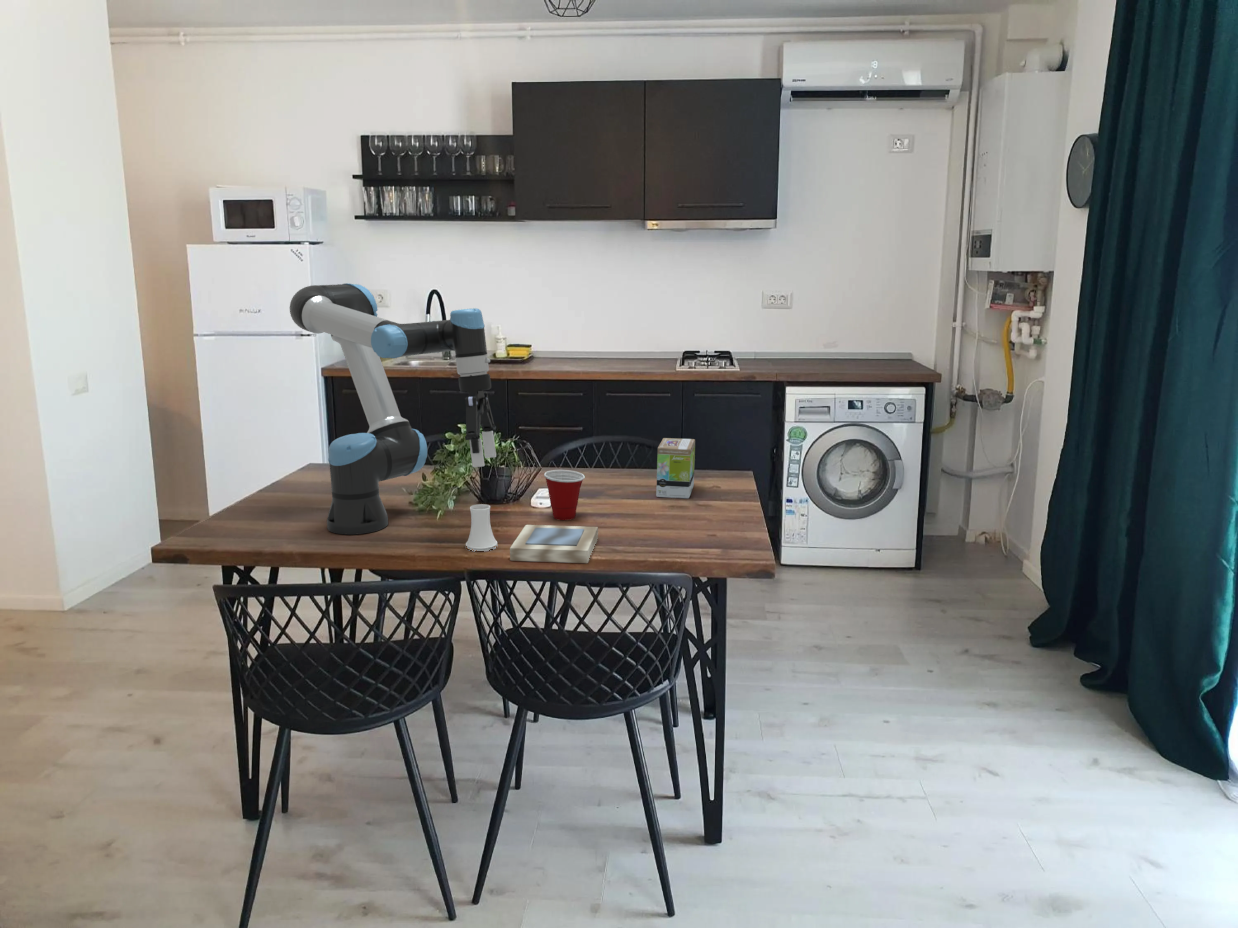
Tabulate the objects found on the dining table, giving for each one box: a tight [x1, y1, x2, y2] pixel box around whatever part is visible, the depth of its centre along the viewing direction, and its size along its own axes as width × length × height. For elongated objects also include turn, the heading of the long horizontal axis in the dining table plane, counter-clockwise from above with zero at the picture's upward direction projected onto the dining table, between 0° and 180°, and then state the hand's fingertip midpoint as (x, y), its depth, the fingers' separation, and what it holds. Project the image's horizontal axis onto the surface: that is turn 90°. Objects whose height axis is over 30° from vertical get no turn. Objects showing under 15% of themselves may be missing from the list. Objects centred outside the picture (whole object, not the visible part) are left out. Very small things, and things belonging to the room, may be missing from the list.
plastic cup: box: [543, 469, 585, 521], centre depth 240 cm, size 11×11×12 cm
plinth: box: [509, 524, 599, 564], centre depth 216 cm, size 18×18×3 cm
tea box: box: [655, 437, 696, 499], centre depth 265 cm, size 15×10×15 cm, turn 171°
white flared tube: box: [465, 503, 498, 552], centre depth 217 cm, size 8×8×10 cm
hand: (484, 461), depth 220 cm, fingers open, 13 cm apart
